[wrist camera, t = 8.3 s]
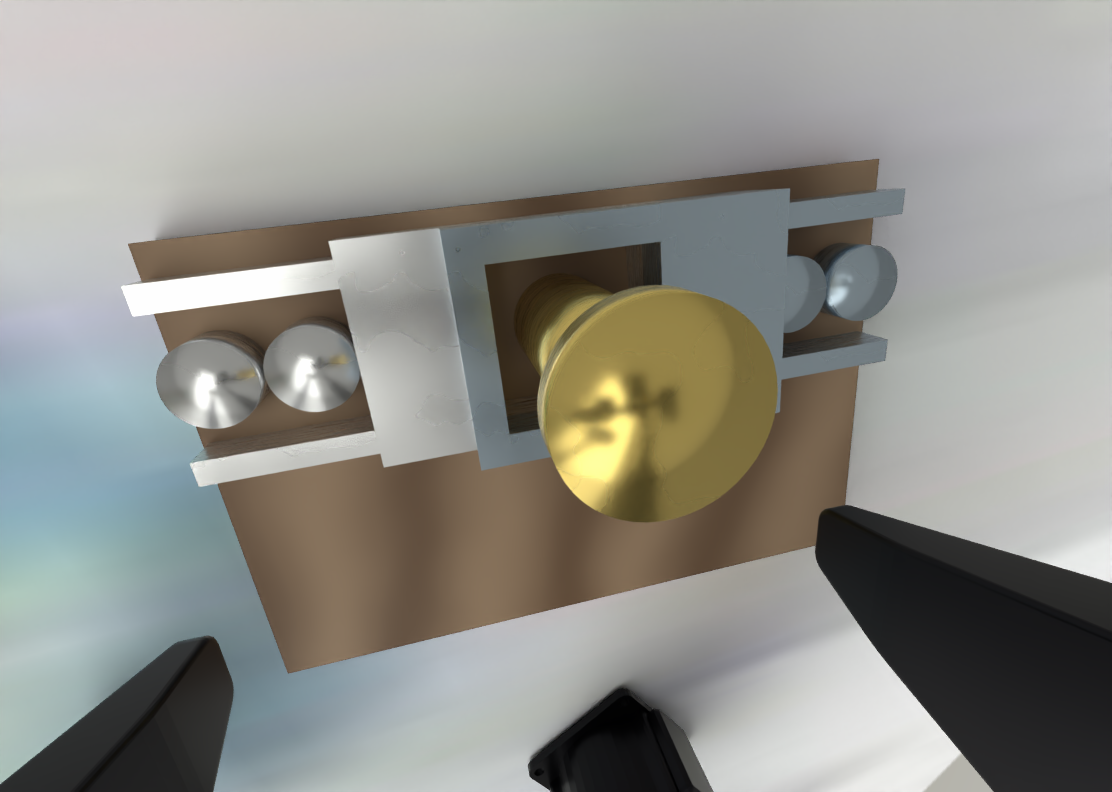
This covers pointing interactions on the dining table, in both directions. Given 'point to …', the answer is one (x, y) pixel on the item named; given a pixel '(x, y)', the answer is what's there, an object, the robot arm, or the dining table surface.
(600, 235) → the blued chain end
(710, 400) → the pin
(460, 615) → the board
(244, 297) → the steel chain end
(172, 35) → the dining table surface
